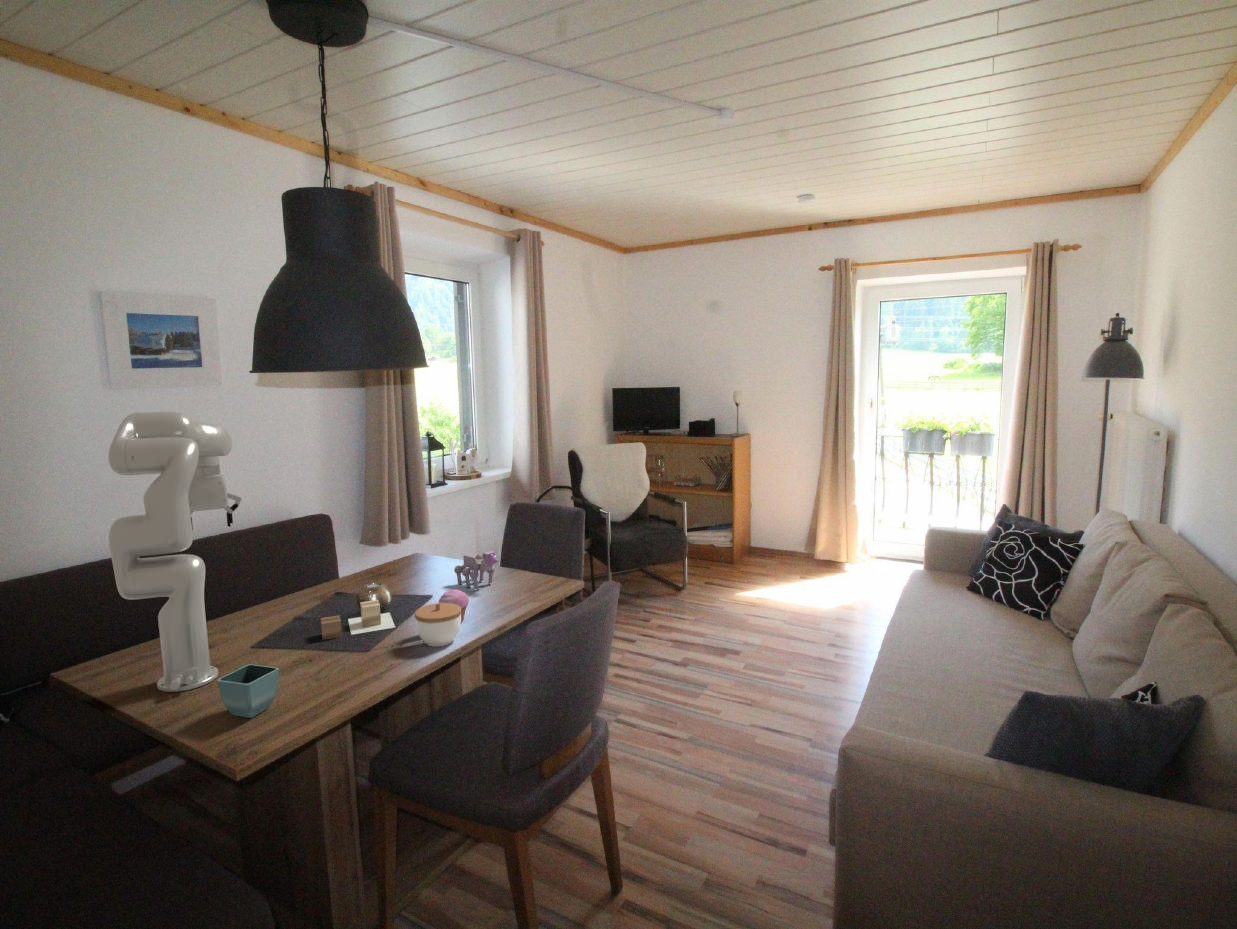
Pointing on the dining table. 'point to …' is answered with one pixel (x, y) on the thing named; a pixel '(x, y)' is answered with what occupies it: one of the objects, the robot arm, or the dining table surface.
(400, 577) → the dining table surface
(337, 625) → the walnut block
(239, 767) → the dining table surface
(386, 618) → the plate
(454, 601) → the cupcake
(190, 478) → the robot arm
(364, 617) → the maple block
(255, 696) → the flower pot
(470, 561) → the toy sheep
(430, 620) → the lidded bowl
